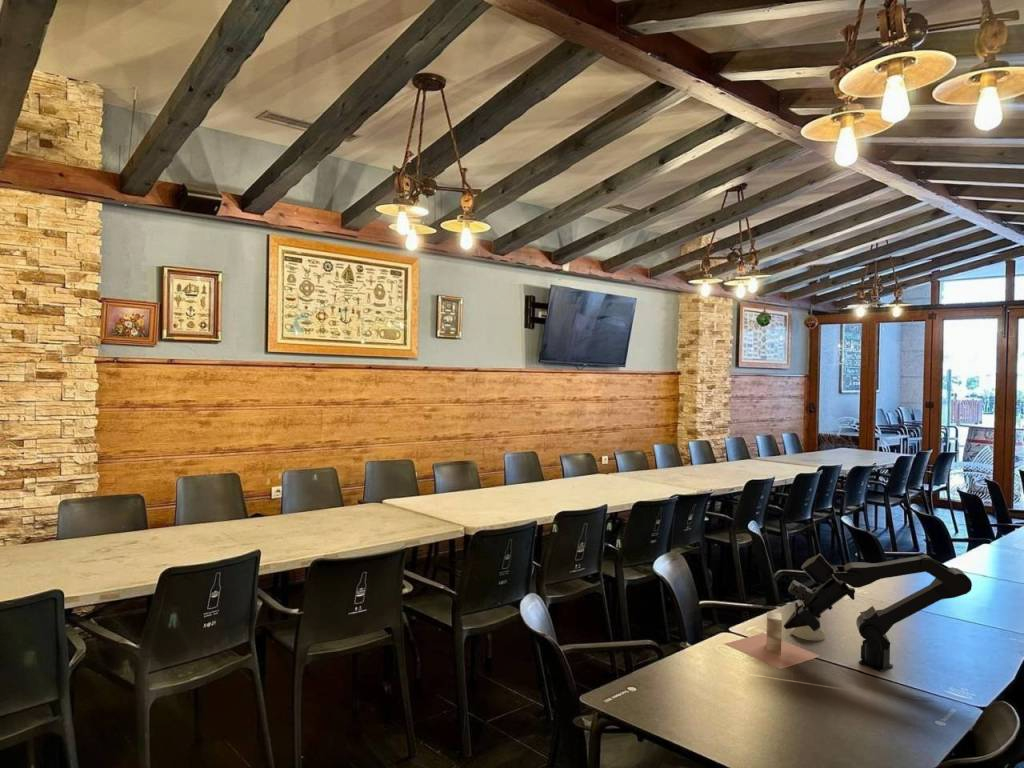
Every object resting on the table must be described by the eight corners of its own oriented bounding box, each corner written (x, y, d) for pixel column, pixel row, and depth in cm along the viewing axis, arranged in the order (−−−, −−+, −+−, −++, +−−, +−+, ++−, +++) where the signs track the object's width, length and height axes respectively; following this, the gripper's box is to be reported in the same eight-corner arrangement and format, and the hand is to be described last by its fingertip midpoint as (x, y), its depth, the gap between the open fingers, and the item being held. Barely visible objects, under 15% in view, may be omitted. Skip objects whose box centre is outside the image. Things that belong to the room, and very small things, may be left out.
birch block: (780, 646, 205) (781, 613, 205) (781, 654, 199) (781, 620, 199) (766, 644, 206) (767, 611, 206) (766, 651, 200) (767, 618, 200)
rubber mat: (820, 657, 198) (820, 656, 198) (780, 670, 189) (780, 669, 189) (763, 634, 215) (763, 633, 215) (723, 645, 206) (723, 643, 206)
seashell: (832, 636, 209) (811, 624, 208) (813, 653, 212) (793, 641, 211) (824, 617, 216) (804, 605, 215) (806, 634, 219) (786, 622, 218)
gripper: (804, 565, 208) (764, 596, 212) (808, 582, 191) (765, 615, 195) (831, 594, 206) (791, 625, 210) (838, 614, 188) (794, 647, 192)
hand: (784, 627), depth 201 cm, fingers closed
